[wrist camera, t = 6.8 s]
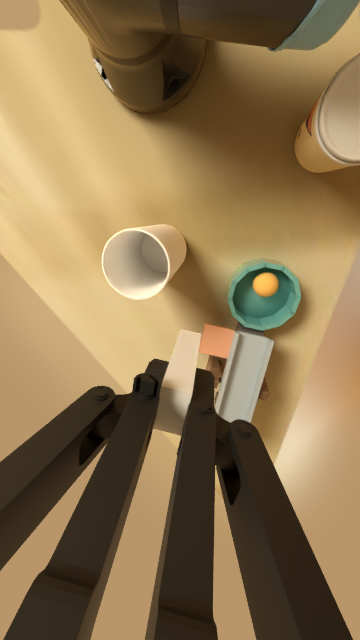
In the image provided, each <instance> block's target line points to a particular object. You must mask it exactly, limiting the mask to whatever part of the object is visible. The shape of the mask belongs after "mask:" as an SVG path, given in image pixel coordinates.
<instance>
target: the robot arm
mask: <svg viewBox="0 0 360 640" xmlns="http://www.w3.org/2000/svg"><path fill="white" fill-rule="evenodd" d="M60 2H61V3H62V4H63V5H64V7H65V8H66V9H67V11H68V12H69V13H70V15H71V16H72V17H73V19H74V20H75V21H76V23H77V24H78V25H79V27H80V28H81V29H82V31H83V32H84V33H85V34H86V36H87V37H88V41H89V45H90V49H91V53H92V56H93V60H94V63H95V65H96V68H97V70H98V72H99V74H100V76H101V78H102V80H103V82H104V83H105V85H106V86H107V87H108V89H109V90H110V91H111V92H112V93H113V95H114V96H115V97H116V98H117V99H118V100H119V101H120V102H121V103H122V104H124V105H125V106H127V107H128V108H130V109H132V110H134V111H137V112H140V113H146V114H154V113H160V112H163V111H166V110H168V109H170V108H172V107H173V106H175V105H176V104H178V103H179V102H180V101H181V100H182V99H183V98H184V97H185V96H186V95H187V94H188V92H189V91H190V90H191V88H192V87H193V85H194V83H195V81H196V80H197V77H198V75H199V73H200V70H201V67H202V64H203V60H204V56H205V49H206V39H207V40H215V41H223V42H231V43H239V44H247V45H255V46H263V47H267V48H268V50H270V51H273V52H276V51H281V50H283V49H292V50H312V49H315V48H317V47H319V46H320V45H322V44H324V43H326V42H327V41H329V40H330V39H331V38H332V37H333V36H334V35H335V34H336V33H337V32H338V31H339V29H340V28H341V27H342V26H343V25H344V23H345V22H346V21H347V19H348V18H349V17H350V15H351V14H352V12H353V11H354V9H355V8H356V7H357V5H358V3H359V2H360V0H60ZM200 339H201V333H196V332H192V331H188V330H183V329H180V332H179V335H178V338H177V341H176V344H175V347H174V350H173V353H172V356H171V359H170V362H167V361H163V360H159V359H154V360H152V361H151V362H149V364H148V366H147V368H146V371H145V373H142V374H139V375H137V376H136V377H135V378H134V384H133V391H132V393H129V394H125V395H115V393H114V391H113V390H112V389H111V388H109V387H106V386H97V387H93V388H91V389H90V390H88V391H87V392H86V393H85V394H83V395H82V396H81V397H80V398H78V399H77V400H76V401H75V402H73V403H72V404H71V405H70V406H69V407H67V408H66V409H65V410H64V411H63V412H61V413H60V414H59V415H58V416H56V417H55V418H54V419H53V420H51V421H50V422H49V423H48V424H46V425H45V426H44V427H43V428H42V429H40V430H39V431H38V432H37V433H36V434H34V435H33V436H32V437H31V438H30V439H28V440H27V441H26V442H24V443H23V444H22V445H21V446H19V447H18V448H17V449H16V450H15V451H13V452H12V453H11V454H10V455H9V456H7V457H6V458H5V459H4V460H2V461H1V462H0V570H1V569H2V568H3V567H4V565H5V564H6V563H7V562H8V561H9V559H10V558H11V557H12V556H13V555H14V554H15V553H16V551H17V550H18V549H19V548H20V547H21V545H22V544H23V543H24V542H25V541H26V539H27V538H28V537H29V536H30V535H31V533H32V532H33V531H34V530H35V529H36V527H37V526H38V525H39V524H40V523H41V521H42V520H43V519H44V518H45V516H46V515H47V514H48V513H49V512H50V511H51V509H52V508H53V507H54V506H55V505H56V503H57V502H58V501H59V500H60V499H61V497H62V496H63V495H64V494H65V493H66V491H67V490H68V489H69V488H70V487H71V486H72V484H73V483H74V482H75V481H76V479H77V478H78V477H79V476H80V475H81V473H82V472H83V471H84V470H85V469H86V468H87V466H88V465H89V464H90V463H91V461H92V460H93V459H94V458H95V457H96V456H97V454H98V453H99V452H100V451H101V450H102V448H103V447H104V446H105V445H106V444H107V445H106V447H105V449H104V451H103V453H102V455H101V457H100V460H99V461H98V463H97V465H96V467H95V470H94V471H93V474H92V476H91V478H90V480H89V482H88V484H87V486H86V488H85V490H84V492H83V494H82V496H81V498H80V500H79V502H78V504H77V506H76V508H75V511H74V513H73V515H72V517H71V519H70V521H69V523H68V525H67V527H66V529H65V531H64V533H63V535H62V537H61V539H60V541H59V543H58V545H57V547H56V550H55V551H54V553H53V555H52V558H51V559H50V562H49V563H48V565H47V566H46V568H45V569H44V570H43V571H42V572H41V573H39V574H38V576H37V577H36V579H35V580H34V581H33V583H32V585H31V587H30V589H29V590H28V592H27V594H26V596H25V598H24V600H23V602H22V604H21V606H20V608H19V610H18V612H17V614H16V616H15V618H14V620H13V622H12V624H11V626H10V628H9V630H8V632H7V634H6V636H5V637H4V640H90V638H91V634H92V631H93V627H94V623H95V620H96V617H97V614H98V610H99V607H100V603H101V601H102V597H103V594H104V591H105V587H106V584H107V581H108V577H109V574H110V571H111V568H112V564H113V561H114V558H115V554H116V551H117V548H118V544H119V541H120V538H121V535H122V531H123V528H124V525H125V521H126V518H127V514H128V511H129V508H130V505H131V502H132V498H133V495H134V491H135V488H136V485H137V482H138V478H139V475H140V472H141V469H142V465H143V462H144V459H145V455H146V452H147V449H148V446H149V442H150V439H151V435H152V430H153V428H154V429H158V430H162V431H166V432H170V433H174V434H177V435H181V440H180V444H179V448H178V452H177V461H176V467H175V472H174V478H173V483H172V489H171V495H170V500H169V506H168V512H167V517H166V523H165V529H164V534H163V540H162V546H161V551H160V557H159V563H158V569H157V574H156V580H155V585H154V591H153V597H152V602H151V608H150V614H149V619H148V625H147V631H146V636H145V640H218V636H217V628H216V625H215V622H214V619H213V558H214V556H213V555H214V501H215V465H216V469H217V473H218V478H219V482H220V486H221V490H222V495H223V499H224V503H225V507H226V512H227V516H228V520H229V524H230V529H231V533H232V537H233V541H234V546H235V550H236V554H237V559H238V563H239V567H240V571H241V575H242V580H243V584H244V588H245V593H246V597H247V601H248V606H249V610H250V614H251V618H252V623H253V627H254V631H255V636H256V639H257V640H353V639H352V636H351V634H350V632H349V630H348V628H347V626H346V623H345V621H344V619H343V617H342V615H341V612H340V610H339V608H338V606H337V604H336V601H335V599H334V597H333V595H332V593H331V590H330V588H329V586H328V584H327V582H326V579H325V578H324V575H323V573H322V571H321V568H320V566H319V564H318V562H317V560H316V558H315V555H314V553H313V551H312V549H311V546H310V544H309V542H308V540H307V538H306V536H305V533H304V531H303V529H302V527H301V524H300V522H299V520H298V518H297V516H296V514H295V511H294V509H293V507H292V505H291V502H290V500H289V498H288V496H287V494H286V492H285V489H284V487H283V485H282V483H281V481H280V479H279V476H278V474H277V472H276V470H275V467H274V465H273V463H272V461H271V459H270V456H269V454H268V452H267V450H266V448H265V445H264V443H263V441H262V439H261V437H260V434H259V432H258V430H257V429H256V427H255V426H253V425H252V424H251V423H250V422H248V421H246V420H241V419H237V420H234V421H232V422H231V423H230V422H228V421H226V420H225V419H223V418H221V417H220V416H219V415H218V414H217V413H216V410H215V408H214V381H215V377H214V375H213V374H212V372H211V371H207V370H203V369H199V368H196V366H197V359H198V352H199V346H200ZM107 442H108V443H107Z"/></svg>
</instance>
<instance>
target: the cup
mask: <svg viewBox="0 0 360 640" xmlns="http://www.w3.org/2000/svg"><path fill="white" fill-rule="evenodd" d="M186 252H187V248H186V242H185V240H184V238H183V236H182V234H181V233H180V232H179V231H178V230H177V229H175V228H174V227H172V226H169V225H164V224H160V225H153V226H145V227H138V228H130V229H125V230H122V231H120V232H118V233H116V234H115V235H114V236H112V237H111V238H110V239H109V241H108V242H107V244H106V245H105V247H104V250H103V254H102V268H103V272H104V275H105V277H106V279H107V281H108V283H109V284H110V285H111V287H112V288H113V289H114V290H115V291H117V292H118V293H119V294H121V295H123V296H125V297H127V298H130V299H136V300H142V299H147V298H150V297H153V296H155V295H156V294H158V293H159V292H160V291H161V290H162V289H163V288H164V287H165V285H166V284H167V283H168V282H169V280H170V279H171V278H172V276H173V275H174V274H175V273H176V271H177V270H178V269H179V267H180V266H181V265H182V263H183V262H184V260H185V257H186Z"/></svg>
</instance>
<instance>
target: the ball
mask: <svg viewBox="0 0 360 640" xmlns="http://www.w3.org/2000/svg"><path fill="white" fill-rule="evenodd" d="M278 286H279V281H278V279H277V277H276V276H275V275H274V274H272V273H270V272H263V273H260V274H259V275H257V276H256V277H255V279H254V281H253V289H254V291H255V292H256V294H258V295H259V296H262V297H268V296H271V295H273V294H274V293H275V292H276V291H277V289H278Z"/></svg>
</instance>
